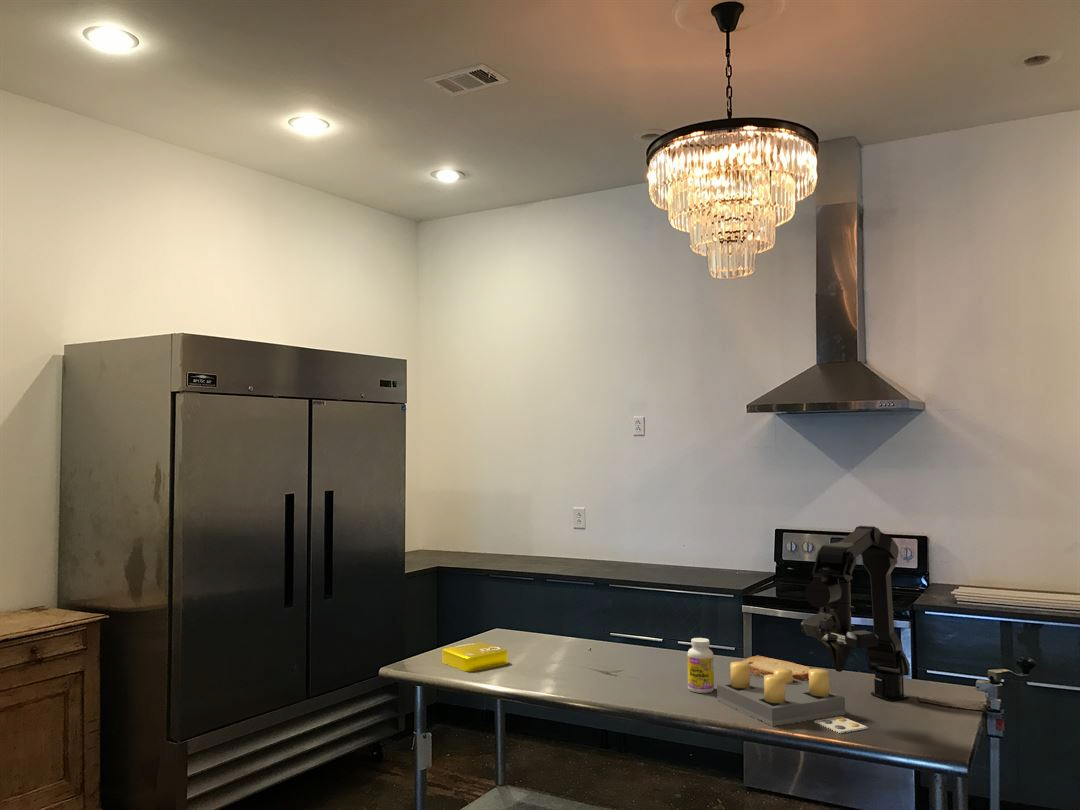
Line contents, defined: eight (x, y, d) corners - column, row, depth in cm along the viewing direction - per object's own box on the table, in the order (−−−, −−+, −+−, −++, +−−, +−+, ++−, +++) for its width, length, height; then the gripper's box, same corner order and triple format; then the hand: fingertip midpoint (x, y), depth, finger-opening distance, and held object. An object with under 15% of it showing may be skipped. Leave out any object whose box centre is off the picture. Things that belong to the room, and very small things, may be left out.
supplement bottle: (685, 692, 211) (684, 641, 212) (690, 685, 217) (689, 636, 218) (711, 694, 209) (710, 643, 209) (715, 687, 215) (715, 638, 216)
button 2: (776, 696, 193) (775, 673, 193) (789, 701, 188) (788, 678, 189) (760, 698, 191) (759, 675, 191) (773, 704, 187) (772, 680, 187)
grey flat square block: (785, 690, 212) (785, 675, 212) (845, 714, 192) (844, 697, 193) (717, 700, 204) (717, 684, 204) (772, 726, 184) (771, 708, 184)
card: (841, 718, 190) (841, 715, 190) (867, 728, 183) (867, 726, 183) (814, 722, 187) (814, 720, 187) (839, 733, 180) (839, 731, 180)
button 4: (820, 689, 198) (819, 667, 198) (833, 694, 194) (833, 672, 194) (804, 692, 196) (804, 669, 196) (818, 697, 192) (817, 674, 192)
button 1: (742, 682, 205) (741, 660, 205) (753, 686, 200) (753, 665, 201) (726, 684, 203) (726, 662, 203) (738, 689, 199) (737, 667, 199)
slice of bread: (820, 680, 223) (820, 666, 223) (759, 684, 219) (759, 670, 219) (787, 664, 240) (787, 651, 240) (730, 667, 236) (729, 654, 237)
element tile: (481, 655, 252) (481, 639, 252) (510, 665, 240) (510, 648, 240) (439, 663, 243) (439, 646, 243) (467, 674, 231) (467, 656, 231)
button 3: (784, 688, 210) (784, 667, 210) (796, 693, 205) (796, 671, 206) (770, 690, 208) (769, 669, 208) (781, 695, 204) (781, 673, 204)
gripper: (781, 597, 192) (782, 665, 191) (839, 611, 175) (841, 686, 174) (819, 594, 196) (820, 660, 195) (879, 607, 179) (881, 680, 178)
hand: (839, 671), depth 185 cm, fingers closed
